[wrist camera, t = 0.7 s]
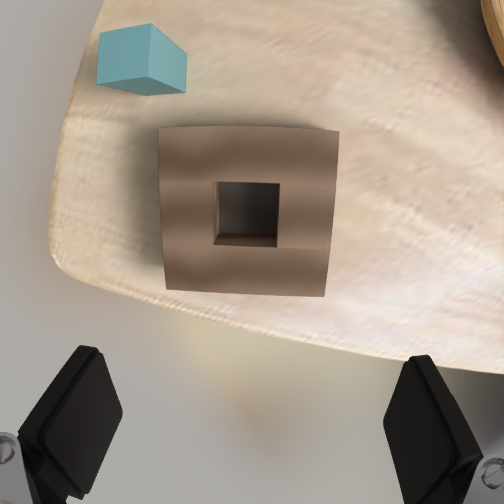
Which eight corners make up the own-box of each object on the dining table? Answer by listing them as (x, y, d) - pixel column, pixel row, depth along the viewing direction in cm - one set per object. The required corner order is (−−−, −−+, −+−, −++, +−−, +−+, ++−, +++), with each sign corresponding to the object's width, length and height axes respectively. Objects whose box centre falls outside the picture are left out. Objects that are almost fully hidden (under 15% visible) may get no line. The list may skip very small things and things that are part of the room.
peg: (147, 58, 29) (99, 33, 18) (187, 54, 29) (151, 23, 18) (146, 95, 30) (96, 84, 20) (185, 92, 30) (148, 76, 20)
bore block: (173, 128, 31) (158, 127, 27) (329, 131, 31) (339, 131, 26) (178, 269, 37) (166, 289, 32) (317, 275, 36) (324, 296, 32)
